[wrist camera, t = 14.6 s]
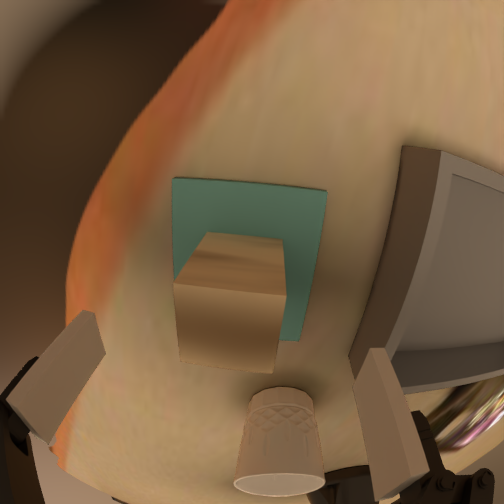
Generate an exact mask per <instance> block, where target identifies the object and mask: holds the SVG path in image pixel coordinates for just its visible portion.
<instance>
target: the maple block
mask: <svg viewBox="0 0 504 504" xmlns="http://www.w3.org/2000/svg"><path fill="white" fill-rule="evenodd" d="M173 292H174V305H175V316H176V326H177V336H178V345H179V353H180V361H181V362H186V363H192V364H197V365H204V366H210V367H217V368H224V369H232V370H240V371H249V372H259V373H271V374H273V369H274V364H275V359H276V353H277V348H278V343H279V337H280V331H281V326H282V320H283V314H284V308H285V302H286V296H287V294H286V279H285V265H284V252H283V239H277V238H267V237H257V236H247V235H237V234H226V233H215V232H207V233H206V234H205V236H204V237H203V239H202V240H201V242H200V243H199V245H198V246H197V247H196V249H195V250H194V252H193V253H192V255H191V256H190V258H189V259H188V261H187V262H186V264H185V265H184V267H183V268H182V270H181V271H180V273H179V274H178V276H177V277H176V279H175V280H174V282H173Z"/></svg>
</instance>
